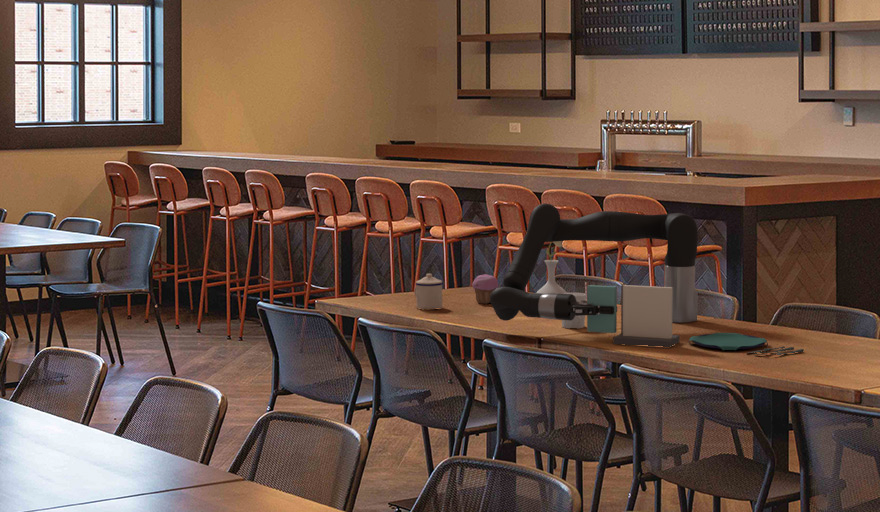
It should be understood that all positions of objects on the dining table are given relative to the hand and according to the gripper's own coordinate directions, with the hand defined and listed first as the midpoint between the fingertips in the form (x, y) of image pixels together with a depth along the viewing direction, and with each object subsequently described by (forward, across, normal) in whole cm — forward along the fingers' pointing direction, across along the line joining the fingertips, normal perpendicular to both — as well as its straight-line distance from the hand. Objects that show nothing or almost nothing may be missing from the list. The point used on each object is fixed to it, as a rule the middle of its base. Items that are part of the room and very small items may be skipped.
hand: (615, 309), depth 349 cm
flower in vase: (-46, +72, +9) cm, 86 cm away
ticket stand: (+9, 0, +9) cm, 13 cm away
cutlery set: (+35, +3, +10) cm, 36 cm away
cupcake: (-64, +56, +9) cm, 86 cm away
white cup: (-19, +19, +9) cm, 29 cm away
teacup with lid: (-78, +38, +9) cm, 88 cm away
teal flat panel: (-4, 0, +6) cm, 8 cm away
